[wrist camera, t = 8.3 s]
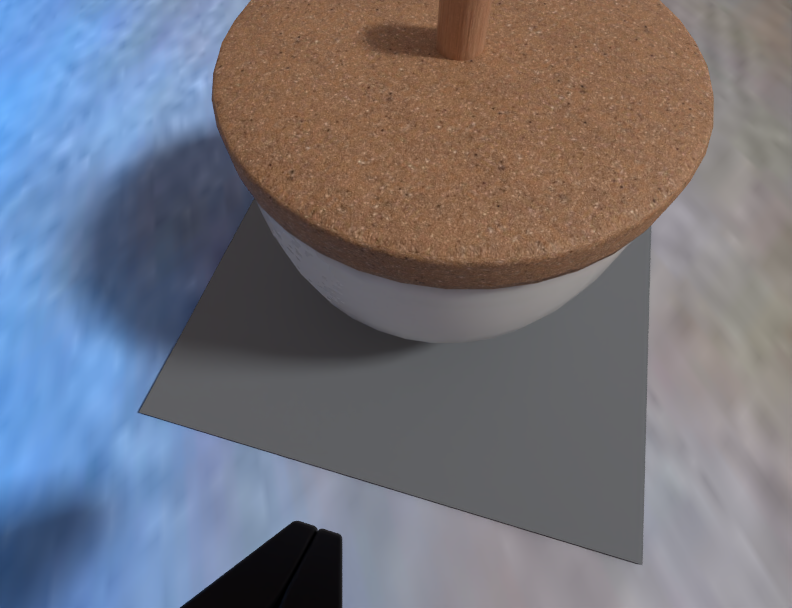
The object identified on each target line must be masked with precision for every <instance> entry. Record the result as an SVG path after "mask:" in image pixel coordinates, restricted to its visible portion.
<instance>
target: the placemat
mask: <svg viewBox="0 0 792 608" xmlns="http://www.w3.org/2000/svg"><path fill="white" fill-rule="evenodd" d="M650 249H651V226H650V227H649V228H648V229H647V230H646V231H645V232H644V233H642V234H641V235H640V236H638V237H637V238H635V239H634V240H633V241H632V242H631V243H630V244H629V245H628V246H627V247H626V248H625V249H624V250H623V252H622V253H621V254H620V255H619V256H618V257H617V258H616V259H615V260H614V261H613V262H612V263H611V264H610V266H609V267H608V268H607V269H606V270H605V271H604V272H603V273H602V274H601V275H600V276H599V277H598V278H597V279H596V280H595V281H594V282H593V283H591V284H590V285H589V286H588V287H587V288H585V289H584V290H583V291H582V292H580V293H579V294H578V295H577V296H575V297H574V298H572V299H571V300H570V301H568V302H567V303H566V304H564V305H563V306H562V307H560V308H559V309H557V310H556V311H554V312H552V313H551V314H549V315H547V316H545V317H543V318H542V319H540V320H538V321H536V322H534V323H532V324H530V325H528V326H526V327H523V328H521V329H519V330H517V331H515V332H511V333H508V334H505V335H502V336H498V337H495V338H492V339H487V340H480V341H473V342H466V343H428V342H421V341H415V340H408V339H404V338H401V337H398V336H394V335H391V334H388V333H384V332H381V331H378V330H376V329H374V328H372V327H369V326H367V325H365V324H363V323H361V322H359V321H357V320H355V319H353V318H351V317H350V316H348V315H347V314H346V313H344V312H343V311H341V310H340V309H338V308H337V307H335V306H334V305H333V304H331V303H330V302H329V301H328V300H327V299H326V298H325V297H324V296H323V295H322V294H321V293H320V292H319V291H318V290H317V289H316V288H315V287H314V286H313V285H312V284H311V283H310V282H308V281H307V280H306V279H305V278H304V277H303V276H302V275H301V273H300V272H299V271H298V269H297V268H296V266H295V265H294V264H293V262H292V261H291V259H290V258H289V257H288V255H287V254H286V252H285V251H284V250H283V248H282V247H281V245H280V244H279V243H278V241H277V240H276V238H275V237H274V235H273V234H272V232H271V230H270V228H269V226H268V224H267V222H266V220H265V218H264V216H263V214H262V212H261V210H260V208H259V206H258V203H257V201H256V199H255V198H254V200H253V202H252V204H251V206H250V207H249V209H248V211H247V213H246V215H245V217H244V219H243V220H242V222H241V224H240V226H239V228H238V230H237V232H236V233H235V235H234V237H233V239H232V241H231V243H230V244H229V246H228V248H227V250H226V252H225V254H224V256H223V257H222V259H221V261H220V263H219V265H218V267H217V269H216V270H215V272H214V274H213V276H212V278H211V280H210V282H209V283H208V285H207V287H206V289H205V291H204V293H203V295H202V296H201V298H200V300H199V302H198V304H197V306H196V308H195V309H194V311H193V313H192V315H191V317H190V319H189V321H188V322H187V324H186V326H185V328H184V330H183V332H182V334H181V335H180V337H179V339H178V341H177V343H176V345H175V346H174V348H173V350H172V352H171V354H170V356H169V358H168V359H167V361H166V363H165V365H164V367H163V369H162V371H161V372H160V374H159V376H158V378H157V380H156V382H155V384H154V385H153V387H152V389H151V391H150V393H149V395H148V397H147V398H146V400H145V402H144V404H143V406H142V408H141V410H140V411H139V412H140V413H143V414H146V415H149V416H152V417H156V418H159V419H162V420H166V421H169V422H172V423H176V424H179V425H182V426H185V427H189V428H192V429H195V430H199V431H202V432H205V433H209V434H212V435H215V436H218V437H222V438H225V439H228V440H232V441H235V442H238V443H241V444H245V445H248V446H251V447H255V448H258V449H261V450H265V451H268V452H271V453H274V454H278V455H281V456H284V457H288V458H291V459H294V460H298V461H301V462H304V463H307V464H311V465H314V466H317V467H321V468H324V469H327V470H331V471H334V472H337V473H340V474H344V475H347V476H350V477H354V478H357V479H360V480H363V481H367V482H370V483H373V484H377V485H380V486H383V487H387V488H390V489H393V490H396V491H400V492H403V493H406V494H410V495H413V496H416V497H420V498H423V499H426V500H429V501H433V502H436V503H439V504H443V505H446V506H449V507H453V508H456V509H459V510H462V511H466V512H469V513H472V514H476V515H479V516H482V517H486V518H489V519H492V520H495V521H499V522H502V523H505V524H509V525H512V526H515V527H518V528H522V529H525V530H528V531H532V532H535V533H538V534H542V535H545V536H548V537H551V538H555V539H558V540H561V541H565V542H568V543H571V544H575V545H578V546H581V547H584V548H588V549H591V550H594V551H598V552H601V553H604V554H608V555H611V556H614V557H617V558H621V559H624V560H627V561H631V562H634V563H637V564H641V565H642V560H643V521H644V482H645V443H646V404H647V365H648V326H649V287H650Z"/></svg>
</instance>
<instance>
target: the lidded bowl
mask: <svg viewBox="0 0 792 608" xmlns="http://www.w3.org/2000/svg"><path fill="white" fill-rule="evenodd" d="M212 103H213V108H214V114H215V119H216V124H217V128H218V130H219V133H220V135H221V137H222V140H223V142H224V144H225V146H226V149H227V151H228V153H229V155H230V158H231V160H232V162H233V164H234V166H235V168H236V171H237V173H238V175H239V177H240V178H241V180H242V181H243V183H244V184H245V186H246V187H247V188H248V190H249V191H250V193H251V194H252V195H253V197H254V198H255V199H256V201H257V203H258V206H259V208H260V210H261V212H262V214H263V216H264V218H265V220H266V222H267V224H268V226H269V228H270V230H271V232H272V234H273V235H274V237H275V238H276V240H277V241H278V243H279V244H280V245H281V247H282V248H283V250H284V251H285V252H286V254H287V255H288V257H289V258H290V259H291V261H292V262H293V264H294V265H295V266H296V268H297V269H298V271H299V272H300V273H301V275H302V276H303V277H304V278H305V279H306V280H307V281H308V282H310V283H311V284H312V285H313V286H314V287H315V288H316V289H317V290H318V291H319V292H320V293H321V294H322V295H323V296H324V297H325V298H326V299H327V300H328V301H329V302H330V303H331V304H333V305H334V306H335V307H337V308H338V309H340V310H341V311H343V312H344V313H346V314H347V315H348V316H350V317H351V318H353V319H355V320H357V321H359V322H361V323H363V324H365V325H367V326H369V327H372V328H374V329H376V330H378V331H381V332H384V333H388V334H391V335H394V336H398V337H401V338H404V339H408V340H415V341H421V342H428V343H466V342H473V341H480V340H487V339H492V338H495V337H498V336H502V335H505V334H508V333H511V332H515V331H517V330H519V329H521V328H523V327H526V326H528V325H530V324H532V323H534V322H536V321H538V320H540V319H542V318H543V317H545V316H547V315H549V314H551V313H552V312H554V311H556V310H557V309H559V308H560V307H562V306H563V305H564V304H566V303H567V302H568V301H570V300H571V299H572V298H574V297H575V296H577V295H578V294H579V293H580V292H582V291H583V290H584V289H585V288H587V287H588V286H589V285H590V284H591V283H593V282H594V281H595V280H596V279H597V278H598V277H599V276H600V275H601V274H602V273H603V272H604V271H605V270H606V269H607V268H608V267H609V266H610V264H611V263H612V262H613V261H614V260H615V259H616V258H617V257H618V256H619V255H620V254H621V253H622V252H623V250H624V249H625V248H626V247H627V246H628V245H629V244H630V243H631V242H632V241H633V240H634V239H635V238H637V237H638V236H640V235H641V234H642V233H644V232H645V231H646V230H647V229H648V228H649V227H650V226H651V225H652V224H653V223H654V222H655V221H656V219H657V218H658V217H659V216H660V215H661V214H662V213H663V212H664V211H665V210H666V209H667V208H668V207H669V205H670V204H671V203H672V202H673V201H674V200H675V199H676V198H677V197H678V195H679V194H680V193H681V192H682V191H683V190H684V188H685V187H686V186H687V185H688V183H689V182H690V180H691V179H692V177H693V175H694V173H695V172H696V170H697V168H698V166H699V165H700V163H701V161H702V159H703V158H704V156H705V154H706V150H707V147H708V143H709V140H710V136H711V132H712V129H713V104H714V98H713V91H712V86H711V81H710V76H709V71H708V67H707V64H706V62H705V60H704V58H703V56H702V54H701V52H700V50H699V48H698V46H697V44H696V42H695V41H694V39H693V38H692V37H691V35H690V34H689V32H688V31H687V29H686V28H685V27H684V25H683V24H682V22H681V21H680V20H679V19H678V18H677V17H676V16H675V15H674V14H673V13H672V12H671V11H670V10H669V9H668V8H667V7H666V6H665V5H664V4H663V3H662V2H661V1H660V0H251V1H250V2H249V3H248V5H247V6H246V7H245V8H244V10H243V11H242V12H241V13H240V15H239V16H238V17H237V18H236V20H235V21H234V23H233V25H232V26H231V28H230V30H229V32H228V33H227V35H226V37H225V39H224V40H223V42H222V45H221V48H220V52H219V55H218V59H217V62H216V66H215V69H214V72H213V87H212Z"/></svg>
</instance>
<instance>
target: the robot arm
mask: <svg viewBox="0 0 792 608" xmlns="http://www.w3.org/2000/svg"><path fill="white" fill-rule="evenodd" d="M180 608H342V536H341V535H340V534H338V533H335V532H331V531H328V530H325V529H319V530H317V528H316V527H315V526H313V525H310V524H307V523H304V522H301V521H294V522H292V523H291V524H289V525H288V526H287V527H285V528H284V529H283V530H281V531H280V532H279V533H278V534H276V535H275V536H274V537H272V538H271V539H270V540H268V541H267V542H266V543H264V544H263V545H262V546H260V547H259V548H258V549H256V550H255V551H254V552H253V553H251V554H250V555H249V556H247V557H246V558H245V559H243V560H242V561H241V562H239V563H238V564H237V565H235V566H234V567H233V568H231V569H230V570H229V571H228V572H226V573H225V574H224V575H222V576H221V577H220V578H218V579H217V580H216V581H214V582H213V583H212V584H210V585H209V586H208V587H206V588H205V589H204V590H203V591H201V592H200V593H199V594H197V595H196V596H195V597H193V598H192V599H191V600H189V601H188V602H187V603H185V604H184V605H183V606H182V607H180Z"/></svg>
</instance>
